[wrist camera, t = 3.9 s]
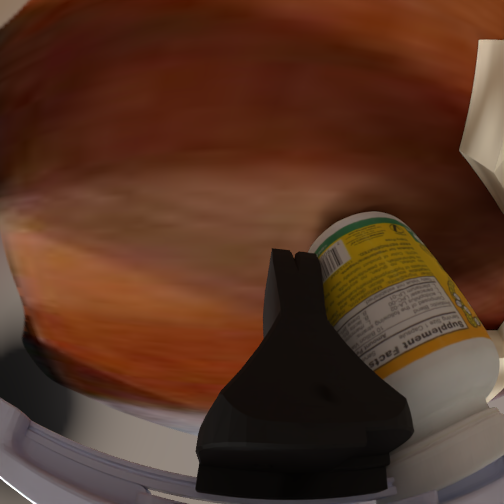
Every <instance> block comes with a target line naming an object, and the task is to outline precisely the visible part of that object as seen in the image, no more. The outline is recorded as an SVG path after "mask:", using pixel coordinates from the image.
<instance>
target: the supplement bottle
mask: <svg viewBox="0 0 504 504" xmlns="http://www.w3.org/2000/svg"><path fill="white" fill-rule="evenodd" d="M308 253H315V254H316V255H317V257H318V259H319V262H320V264H321V270H322V279H323V289H324V300H325V308H326V315H327V319H328V321H329V322H330V323H331V325H332V326H333V327H334V329H335V330H336V331H337V333H338V334H339V335H340V336H341V338H342V339H343V340H344V341H345V342H346V344H347V345H348V346H349V347H350V348H351V349H352V350H353V351H354V352H355V353H356V354H357V355H358V356H359V358H360V359H361V360H362V361H363V362H364V363H365V364H366V365H367V366H368V367H369V368H371V369H372V370H373V371H374V372H375V373H376V374H377V375H378V376H379V377H380V378H382V379H383V380H384V381H385V382H386V383H388V384H389V385H390V386H391V387H393V388H394V389H395V390H397V391H398V392H399V393H400V394H402V395H403V396H404V397H405V398H406V399H407V402H408V405H409V408H410V411H411V416H412V421H413V427H414V433H413V435H412V436H411V438H410V439H409V440H408V441H406V442H405V443H404V444H402V445H401V446H399V447H398V448H396V449H395V450H393V451H391V452H390V453H389V455H390V465H388V466H386V474H387V478H389V477H394V480H395V481H394V482H393V483H392V486H396V490H397V494H395V495H392V496H388V497H386V498H383V499H378V500H376V504H386V503H389V502H393V501H397V500H401V499H404V498H408V497H412V496H415V495H418V494H422V493H425V492H428V491H432V490H436V491H439V490H441V489H443V488H445V487H448V486H450V485H452V484H454V483H456V482H458V481H460V480H462V479H464V478H466V477H468V476H470V475H471V474H473V473H475V472H477V471H479V470H480V469H482V468H484V467H485V466H487V465H489V464H490V463H492V462H494V461H495V460H497V459H498V458H500V457H501V456H503V455H504V414H501V413H500V412H499V410H498V409H497V408H495V407H493V408H489V406H488V404H487V402H486V398H487V397H488V396H489V394H490V393H491V391H492V389H493V388H494V386H495V384H496V381H497V378H498V375H499V368H500V360H499V355H498V352H497V349H496V347H495V345H494V343H493V341H492V340H491V338H490V336H489V335H488V333H487V331H486V330H485V328H484V326H483V325H482V323H481V322H480V320H479V319H478V317H477V316H476V314H475V312H474V311H473V309H472V307H471V306H470V305H469V303H468V302H467V300H466V299H465V297H464V296H463V294H462V293H461V292H460V290H459V289H458V287H457V286H456V285H455V283H454V282H453V281H452V279H451V278H450V277H449V275H448V274H447V273H446V272H445V271H444V269H443V268H442V266H441V265H440V264H439V262H438V261H437V260H436V258H435V257H434V256H433V255H432V253H431V252H430V251H429V250H428V249H427V247H426V246H425V245H424V243H423V242H422V241H421V240H420V239H419V238H418V237H417V235H416V234H415V233H414V232H413V231H412V230H411V229H410V228H409V227H408V226H407V225H406V224H405V223H404V222H402V221H401V220H400V219H398V218H396V217H395V216H393V215H390V214H387V213H383V212H377V211H372V212H363V213H359V214H355V215H351V216H349V217H347V218H344V219H342V220H340V221H338V222H336V223H334V224H333V225H331V226H330V227H329V228H328V229H326V230H325V231H324V232H323V233H322V234H321V235H320V236H319V237H318V238H317V239H316V240H315V242H314V243H313V244H312V246H311V247H310V249H309V251H308Z"/></svg>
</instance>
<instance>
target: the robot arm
mask: <svg viewBox="0 0 504 504" xmlns="http://www.w3.org/2000/svg"><path fill="white" fill-rule="evenodd" d="M263 334H264V339H263V341H262V342H261V344H260V345H259V347H258V348H257V349H256V351H255V352H254V353H253V355H252V356H251V357H250V359H249V360H248V361H247V362H246V364H245V365H244V366H243V367H242V369H241V370H240V371H239V372H238V373H237V374H236V375H235V376H234V377H233V379H232V380H231V381H230V382H229V383H228V384H227V385H226V386H225V387H224V388H223V389H222V390H221V391H220V393H219V395H218V397H217V399H216V400H215V402H214V403H213V405H212V407H211V408H210V410H209V412H208V413H207V415H206V417H205V419H204V421H203V423H202V425H201V427H200V430H199V433H198V440H197V446H196V454H197V457H198V459H199V468H198V474H197V477H192V476H187V475H181V474H177V473H172V472H168V471H163V470H159V469H155V468H151V467H147V466H144V465H140V464H137V463H133V462H130V461H127V460H124V459H120V458H117V457H114V456H111V455H108V454H106V453H103V452H100V451H97V450H95V449H92V448H89V447H87V446H84V445H82V444H79V443H77V442H75V441H72V440H70V439H67V438H66V437H63V436H61V435H59V434H57V433H55V432H53V431H51V430H48V429H46V428H44V427H42V426H40V425H39V424H37V423H35V422H33V421H31V420H30V419H29V418H28V417H27V416H26V415H25V414H24V413H23V412H21V411H20V410H19V409H17V408H16V407H14V406H13V405H11V404H9V403H7V402H6V401H5V400H3V399H1V398H0V478H1V479H2V480H3V481H4V482H6V483H7V484H8V485H9V486H11V487H12V488H13V489H15V490H16V491H17V492H18V493H20V494H21V495H22V496H24V497H25V498H26V499H28V500H30V501H31V502H32V503H34V504H187V503H182V502H178V501H174V500H170V499H166V498H162V497H158V496H155V495H151V493H150V491H149V490H148V489H150V490H154V491H158V492H162V493H166V494H171V495H176V496H180V497H185V498H190V499H196V500H202V501H209V502H215V503H222V504H376V500H378V499H383V498H386V497H388V496H392V495H395V494H397V490H396V486H392V483H393V482H394V481H395V480H394V477H389V478H387V474H386V466H388V465H390V455H389V453H390V452H391V451H393V450H395V449H396V448H398V447H399V446H401V445H402V444H404V443H405V442H406V441H408V440H409V439H410V438H411V436H412V435H413V433H414V427H413V421H412V416H411V411H410V408H409V405H408V402H407V399H406V398H405V397H404V396H403V395H402V394H400V393H399V392H398V391H397V390H395V389H394V388H393V387H391V386H390V385H389V384H388V383H386V382H385V381H384V380H383V379H382V378H380V377H379V376H378V375H377V374H376V373H375V372H374V371H373V370H372V369H371V368H369V367H368V366H367V365H366V364H365V363H364V362H363V361H362V360H361V359H360V358H359V356H358V355H357V354H356V353H355V352H354V351H353V350H352V349H351V348H350V347H349V346H348V345H347V344H346V342H345V341H344V340H343V339H342V338H341V336H340V335H339V334H338V333H337V331H336V330H335V329H334V327H333V326H332V325H331V323H330V322H329V321H328V319H327V315H326V308H325V300H324V289H323V279H322V270H321V264H320V262H319V259H318V257H317V255H316V254H315V253H307V252H298V253H296V254H295V258H293V255H292V253H291V252H290V250H282V249H273V248H272V252H271V258H270V265H269V271H268V277H267V283H266V289H265V299H264V311H263ZM386 504H504V455H503V456H501V457H500V458H498V459H497V460H495V461H494V462H492V463H490V464H489V465H487V466H485V467H484V468H482V469H480V470H479V471H477V472H475V473H473V474H471V475H470V476H468V477H466V478H464V479H462V480H460V481H458V482H456V483H454V484H452V485H450V486H448V487H445V488H443V489H441V490H439V491H436V490H432V491H428V492H425V493H422V494H418V495H415V496H412V497H408V498H404V499H401V500H397V501H393V502H389V503H386Z"/></svg>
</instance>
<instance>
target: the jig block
mask: <svg viewBox="0 0 504 504" xmlns="http://www.w3.org/2000/svg"><path fill="white" fill-rule="evenodd" d="M459 151H460V152H461V154H462V155H463V156H464V157H465V159H466V160H467V161H468V163H469V164H470V165H471V167H472V168H473V169H474V171H475V172H476V173H477V175H478V176H479V178H480V179H481V180H482V182H483V183H484V185H485V186H486V188H487V189H488V191H489V192H490V194H491V195H492V197H493V198H494V200H495V201H496V203H497V205H498V206H499V208H500V209H501V211H502V213H503V214H504V40H479V44H478V55H477V63H476V71H475V78H474V84H473V90H472V96H471V101H470V106H469V111H468V116H467V120H466V125H465V129H464V133H463V137H462V141H461V145H460V148H459ZM486 331H487V333H488V335H489V336H490V338H491V340H492V341H493V343H494V345H495V347H496V349H497V352H498V355H499V360H500V368H499V375H498V378H497V381H496V384H495V386H494V388H493V389H492V391H491V393H490V394H489V396H488V397H487V398H486V402H487V403H488V402H489V401H490V400H491V399H492V398H494V397H495V396H496V395H497V394H498V393H499V392H500V391H501V390H502V389H503V388H504V322H503V323H502V324H501V326H500V327H499V329H498V330H486Z"/></svg>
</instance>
